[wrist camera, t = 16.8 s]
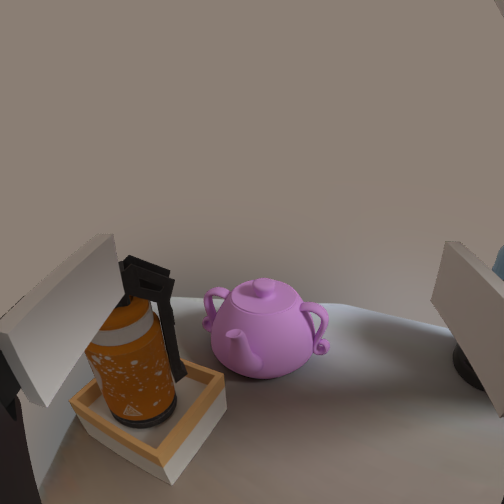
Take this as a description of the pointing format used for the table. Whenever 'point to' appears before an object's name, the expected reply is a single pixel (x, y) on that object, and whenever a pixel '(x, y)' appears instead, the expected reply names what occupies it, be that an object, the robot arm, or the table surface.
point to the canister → (138, 349)
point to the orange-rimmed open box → (165, 434)
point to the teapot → (264, 328)
